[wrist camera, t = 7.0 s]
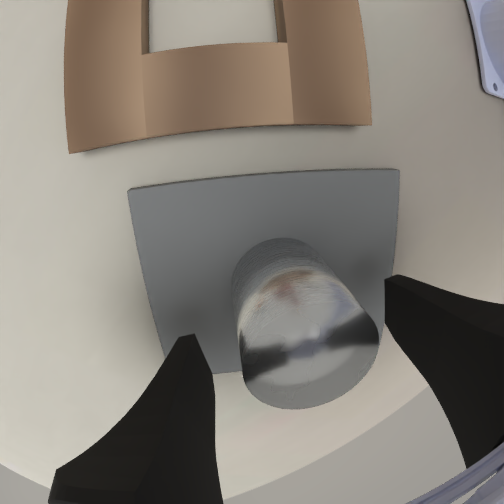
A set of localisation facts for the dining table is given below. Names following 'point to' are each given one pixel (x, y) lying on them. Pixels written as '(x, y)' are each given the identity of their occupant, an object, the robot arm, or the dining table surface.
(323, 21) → the bore plate
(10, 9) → the dining table surface
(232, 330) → the rubber mat
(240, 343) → the end cover
